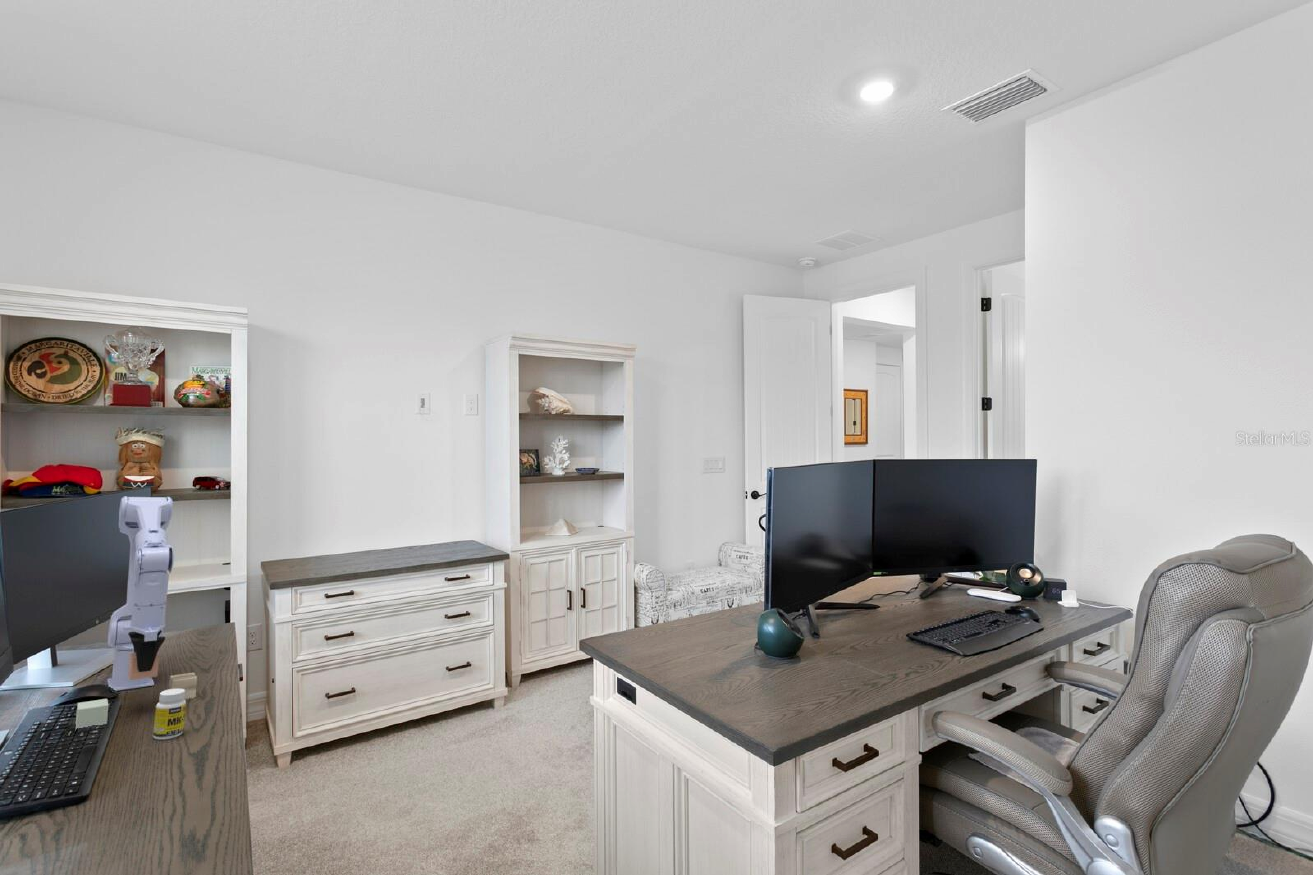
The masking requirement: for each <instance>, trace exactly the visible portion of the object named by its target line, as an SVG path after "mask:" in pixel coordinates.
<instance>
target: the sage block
mask: <svg viewBox="0 0 1313 875" xmlns="http://www.w3.org/2000/svg"><path fill="white" fill-rule="evenodd" d="M109 705H110V704H109V700H108V698H102V699H97V700H89V701H81V702H77V705H76V706H77V707H76V714H75V724H76V727H75V730H76V729H77V728H83V727H88V726H92V725H103V724H107V723H108V716H109ZM107 725H108V724H107Z"/></svg>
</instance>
